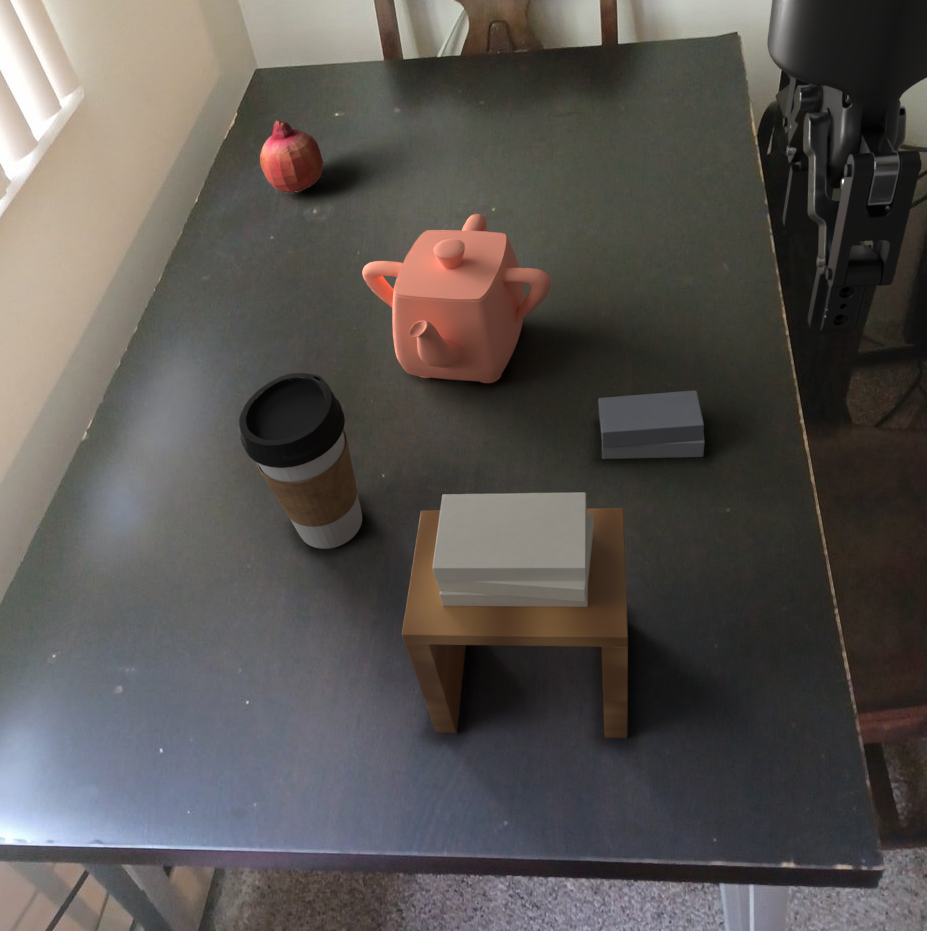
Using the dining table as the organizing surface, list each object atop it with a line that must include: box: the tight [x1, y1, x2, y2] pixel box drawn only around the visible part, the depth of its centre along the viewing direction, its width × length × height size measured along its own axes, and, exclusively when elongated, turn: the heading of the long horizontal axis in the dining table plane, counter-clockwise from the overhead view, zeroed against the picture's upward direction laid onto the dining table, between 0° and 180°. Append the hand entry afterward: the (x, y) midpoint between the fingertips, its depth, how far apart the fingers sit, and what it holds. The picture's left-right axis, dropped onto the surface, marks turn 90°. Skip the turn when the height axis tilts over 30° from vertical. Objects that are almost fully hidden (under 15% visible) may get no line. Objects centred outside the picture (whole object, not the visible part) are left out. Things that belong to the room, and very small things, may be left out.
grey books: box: [597, 390, 706, 460], centre depth 82 cm, size 9×5×4 cm, turn 85°
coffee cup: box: [238, 372, 363, 550], centre depth 76 cm, size 8×8×15 cm
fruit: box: [259, 119, 324, 194], centre depth 118 cm, size 8×8×10 cm
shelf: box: [401, 507, 629, 739], centre depth 64 cm, size 14×10×14 cm
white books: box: [437, 513, 594, 607], centre depth 58 cm, size 10×7×3 cm
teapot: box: [361, 213, 552, 384], centre depth 90 cm, size 17×16×13 cm
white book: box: [433, 491, 588, 581], centre depth 56 cm, size 9×6×1 cm, turn 85°
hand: (816, 275), depth 46 cm, fingers open, 8 cm apart
